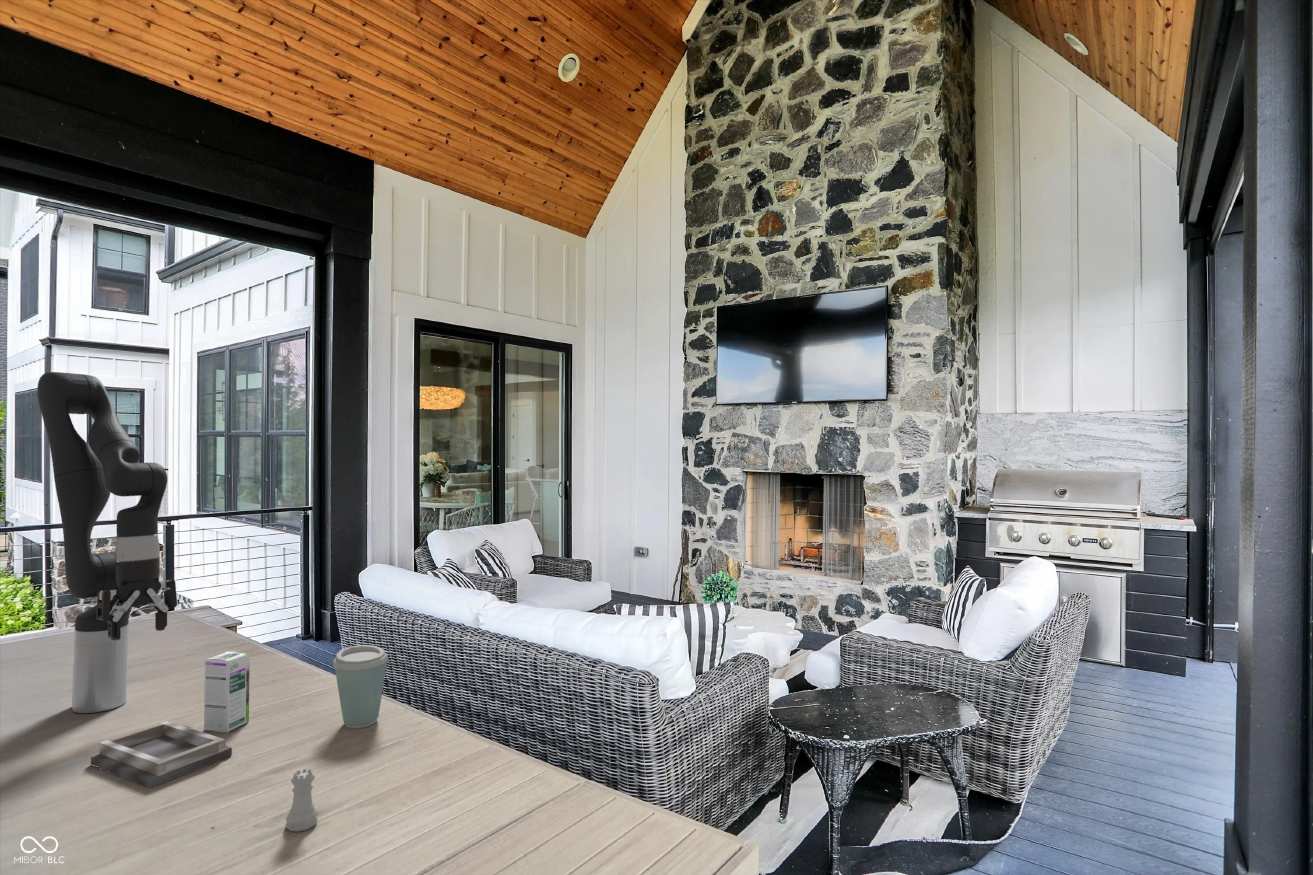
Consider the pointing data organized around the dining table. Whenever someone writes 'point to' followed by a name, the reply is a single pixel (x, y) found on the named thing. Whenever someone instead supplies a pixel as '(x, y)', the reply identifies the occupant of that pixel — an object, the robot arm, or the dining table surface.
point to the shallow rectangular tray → (159, 753)
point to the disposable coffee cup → (360, 683)
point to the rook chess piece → (302, 803)
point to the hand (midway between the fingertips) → (138, 634)
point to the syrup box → (226, 691)
